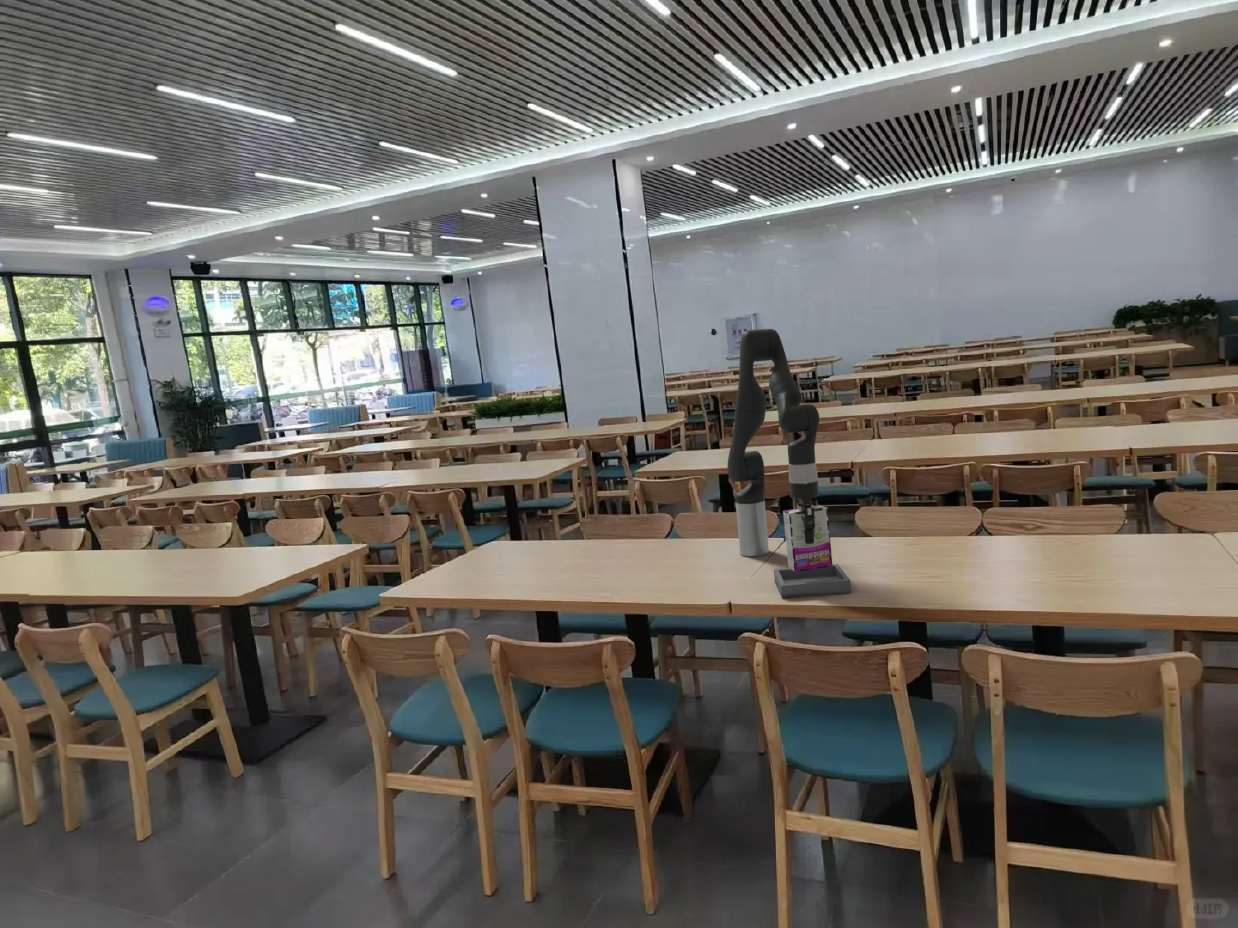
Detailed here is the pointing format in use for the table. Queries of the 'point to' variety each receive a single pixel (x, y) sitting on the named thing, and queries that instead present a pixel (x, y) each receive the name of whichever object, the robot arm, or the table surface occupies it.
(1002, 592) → the table surface
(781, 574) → the tray
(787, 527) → the candy bar box
